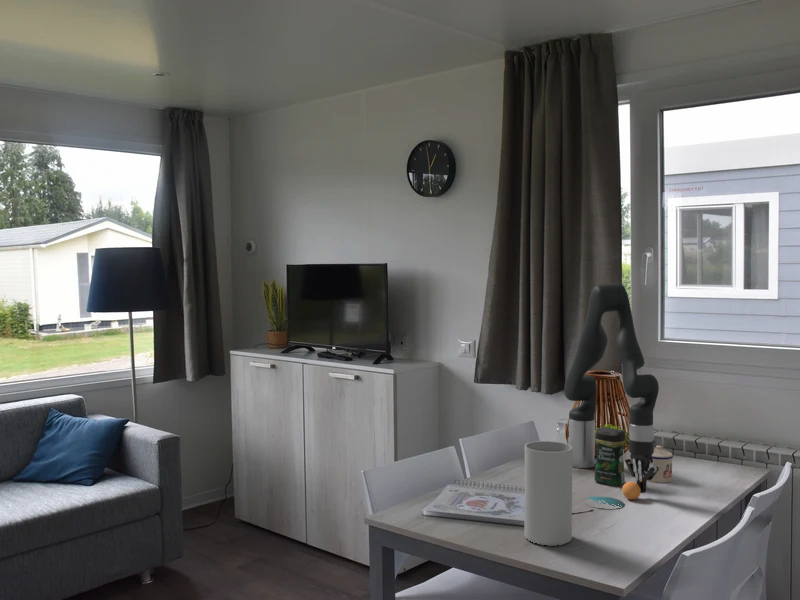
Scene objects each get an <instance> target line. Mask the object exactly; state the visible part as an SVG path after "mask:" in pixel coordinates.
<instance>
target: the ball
mask: <svg viewBox="0 0 800 600" xmlns="http://www.w3.org/2000/svg"><path fill="white" fill-rule="evenodd" d="M621 489H622V491H621V492H622V495H623V496H624V497H625V498H626V499H628V500H631V501H632V500H636V499H638V498H639V497H640V495H641V493H640V492H641V490H640V487H639V485H638V484H637V482H635V481H627V482H624V483H623V486H622V488H621Z"/></svg>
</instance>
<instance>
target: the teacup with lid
mask: <svg viewBox="0 0 800 600" xmlns="http://www.w3.org/2000/svg"><path fill="white" fill-rule="evenodd" d="M673 458H674V455H673V454H672V453H671V452H670V451H668V450H666V449H664V448H663V447H662V446H661V445H655V447H654V453H653V454H652V459H653V464H654V466H655V467H658V468H659V470H658V471H657V473H656V474H655V476H654V477H653V478H652V480H648V481H649V482H652V483H657V482H658V483H659V484H667V483H670V482H672V480H673ZM666 482H667V483H666Z"/></svg>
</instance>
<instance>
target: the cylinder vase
mask: <svg viewBox="0 0 800 600" xmlns="http://www.w3.org/2000/svg"><path fill="white" fill-rule="evenodd" d="M572 502H573V467H572V446H570V445H568V443H565V442H559V441H549V440H537V441H531V442H527V443H525V444H524V521H523V522H524V527H523V528H524V531H523V532H524V534H523V535H524V537H525V539H526V540H527V539H528V540H527V541H529V542H530V541H531V542H530V543H532V542H533V543H532V544H535V543H537V544H536V545H539V544H540V545H539V546H544V545H547V546H546V547H556V546H557V545H559V546H564V545H567V544H568V543H570V542H571V540H572V538H573V531H572V530H573V514H572ZM566 543H567V544H566ZM563 544H564V545H563ZM557 547H558V546H557Z"/></svg>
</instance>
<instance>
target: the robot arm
mask: <svg viewBox="0 0 800 600" xmlns="http://www.w3.org/2000/svg"><path fill="white" fill-rule="evenodd" d="M590 292H591V293H590V296H589V301H588V306H587V311H586V312H587V313H586V318H585V323H584V325H583V329H582V332H581V335H580V338H579V341H578V344H577V349H576V353H575V356H574V359H573V362H572V364H571V367H570V370H569V371H568V374H567V377H566V379H565V381H564V388H563V389H564V395H565V398H566V399H567V400H569V401H573V402H582V403H581V404H580V405H578V406H577V407H575V408H573V409H571V410H570V411H569V412H568V437H567V444H568V445H570V446H572V468H578V469H591V468H594V467H595V460H596V459H595V452H596V451H595V450H596V449H595V447H596V446H595V445H596V442H595V436H596V425H595V424H596V420H595V419H596V411H597V396H598V395H597V394H598V392H597V391H598V385H597V381H596V379H595V377H594V376H593V375H587V374H586V373H587V372H588V371H589V370H590V369H591V370H592V368H593V367H595V366H596V365H597V364H598V363H599V362H600V361H601V360H602V358H603V357H604V354H605V351H606V349H607V347H608V336H607V333H606V331H605V329H604V327H603V325H602V318H603V315H604V314H605V313H609V312H611V313H612V312H616V313H617V314H618V318H619V329H618V332H617V336H616V340H615V342H616V343H615V346H616V347H615V348H616V352H617V355H618V358H619V361H620V363H621V366H622V367H621V368H622V369H621V370H622V384H623V385H622V386H623V390H624V392H625V394H626V395H627V396H629V397H630V398H632V399H639V401H638V402H637V403H635V404H632V405H631V406H630V407H629V427H628V452H629V453H630V454H629V455H630V456H629V458H627V459H626V458H625V459H624V464H625V465H626V467H627V469H628V471H629V473H630V476H631V477H632V478H635V481H636V484H638V485H639V487H640V490H641V492H640V494H645V493H646V492H647V482H648V481H649V480H652V478H653V477H654V476H655V474H656V473H657V471H658V470H659V468H658V467H655V466H654V464H653V459H652V454H653V453H654V448H655V430H654V409H655V407H656V406H655V405H656V402H657V399H658V395H659V389H660V387H659V382H658V380H657V378H656V376H654V375H652V374H650V373H649V374H638V373H637V372H638V371H637V370H639V369H641V368H643V367H644V366H645V358H644V355H643V352H642V349H641V348H640V343H639V342H638V339H637V338H638V337H637V334H636V330H635V325H634V319H633V314H632V310H631V304H630V303H631V302H630V299H629V294H628V292H627V289H626V287H625V286H624V285H623V284H622V283H605V284H599V285H598V284H597V285H596V286H594V287H593V288H592V290H591V291H590ZM585 374H586V375H585Z"/></svg>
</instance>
